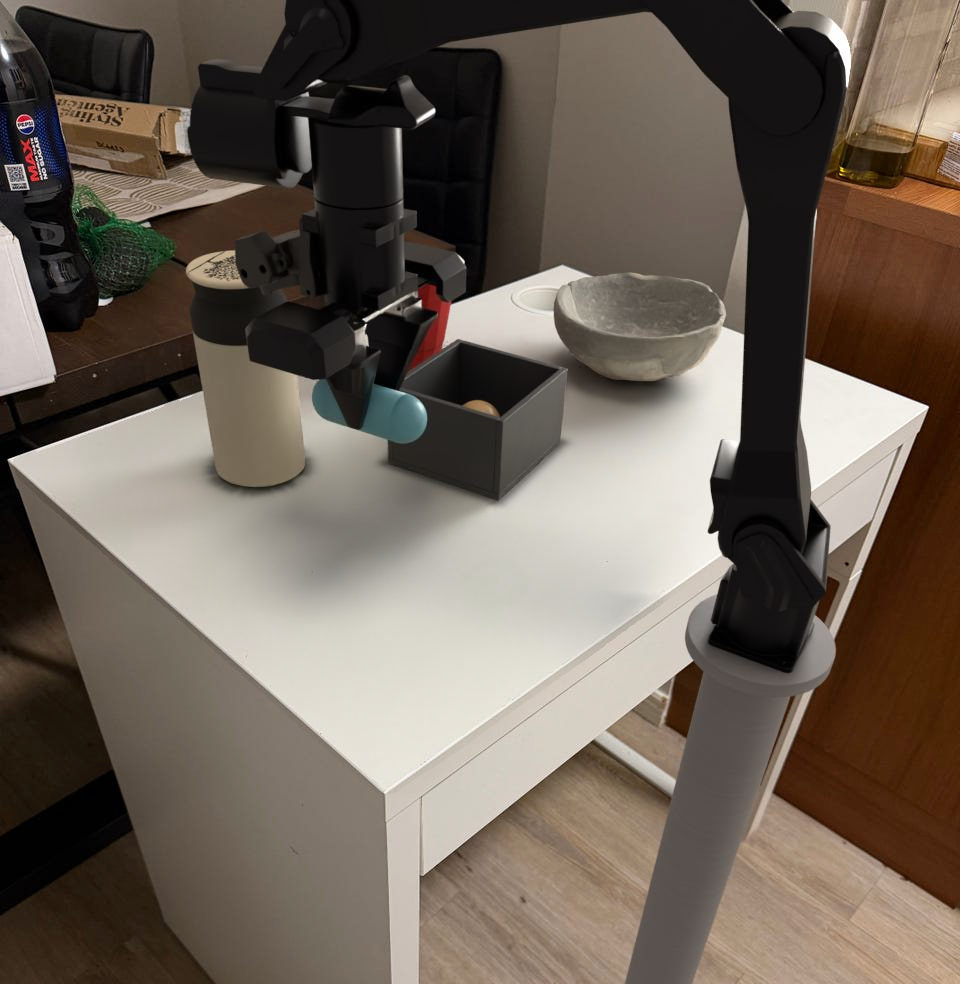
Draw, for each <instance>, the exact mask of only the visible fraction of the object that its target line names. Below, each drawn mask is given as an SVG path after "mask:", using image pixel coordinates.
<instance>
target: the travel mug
mask: <svg viewBox="0 0 960 984" xmlns="http://www.w3.org/2000/svg"><path fill="white" fill-rule="evenodd" d="M185 274H186V276H187V277H188V279H189V280H190V281H191V284H192V286H193V289H194V294H193V297H192V301H191V303H190V305H189V308H188V309H189V310H188V311H189V312H188V313H189V317H190V323H191V330H192V335H193V341H194V347H195V352H196V353H195V355H196V358H197V364H198V372H199V376H200V382H201V383H200V384H201V388H202V389H201V390H202V395H203V401H204V407H205V412H206V420H207V425H208V431H209V437H210V442H211V443H210V444H211V448H212V453H213V454H212V455H213V460H214V466H215V467H214V468H215V471H216V473H217V475H218V476H219V477H220V478H221V479H222V480H224V481H226V482H228V483H231V484H233V485H237V486H241V487H249V488H250V487H252V488H262V487H263V488H264V487H271V486H275V485H279V484H282V483H285V482H288V481H290V480H292V479H293V478H295V477H297V476H299V474H300V473H301V472H302V471H303V470H304V469H305V466H306V452H305V442H304V432H303V431H304V430H303V421H302V412H301V410H302V409H301V401H300V400H301V399H300V391H299V380H298V379H299V378H298V375H295V374H291V373H288V372H285V371H281V370H278V369H274V368H271V367H268V366H264V365H261V364H258V363H254V362H251V361H250V359H249V354H248V347H247V340H246V332H245V328H246V327H247V326H248V325H249V324H250V323H251V321H252V320H253V319H254V318H255V317H257V316H259V315H261V314H263V313H265V312H267V311H269V310H271V309H273V308H275V307H277V306H279V305H281V304H283V303H285V302H287V301H289V300H288V297H286V295H285V293H284V292H283V289H278V290H274V292H273V293H272V294H269V295H263V294H262V292H261V289H260V287H255V288H248V287H247V286H246V285H244V284H243V282H242V280H241V278H240V275H239V273H238V270H237V267H236V262H235V249H234V250H223V251H218V252H217V251H216V252H210V253H206V254H204V255H200V256H199V257H196V258H195V259H193V260H192V261H190V262H189V263H188V264H187V266H186V268H185Z"/></svg>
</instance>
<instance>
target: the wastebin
mask: <svg viewBox="0 0 960 984" xmlns="http://www.w3.org/2000/svg"><path fill="white" fill-rule="evenodd" d="M568 370H569V369H568V368H567V367H563V366H559V365H555V364H552V363H548V362H545V361H540V360H537V359H533V358H529V357H526V356H523V355H519V354H515V353H511V352H508V351H505V350H501V349H497V348H493V347H489V346H486V345H482V344H479V343H476V342H475V343H474V342H471V341H468V340H463V339H461V338H457V339H455V340H454V341H452V342H451V343H449V344H448V345H447V346H445V347H442V350H440V351H439V352H437V353H436V354H434V355H433V356H431V357H430V358H428V359H427V360H425V361H424V362H422V363H420V364H419V365H417V366H416V367H414V368H413V369H411V370H410V371H408V372H407V375H406V377H405V379H404V381H403V383H402V385H401V388H400V390H399V391H400V392H403V393H407V394H410V395H412V396H414V397H416V398H417V399H418V400H420V402H421V403H422V404H423V406H424V407H425V410H426V413H427V424H426V428H425V430H424V432H423V434H422V435H421V436H420V437H419V438H418V439H416V440H414V441H413V442H409V443H396V442H393V441H390V440H387V463H388V464H391V465H393V466H397V467H398V468H399V467H400V468H401V469H404V470H405V469H406V470H408V471H411V472H414V473H417V474H419V475H423V476H426V477H429V478H432V479H435V480H438V481H441V482H444V483H446V484H450V485H452V486H456V487H458V488H460V489H465V490H467V491H470V492H472V493H476V494H479V495H482V496H485V497H488V498H490V499H494V500H496V501H499V500H501V499H502V498H503V497H504V496H505V495H506V494H508V493H509V491H511V490H512V489H513V488H514V487H515V486H516V485H517V484H518V483H519V482H520V481H522V480H523V478H524V477H526V476H527V475H528V474H529V473H530V472H531V471H532V470H533V469H534V468H535V467H537V465H539V464H540V463H541V462H542V461H543V460H544V459H545V458H546V457H547V456H548V455H549V454H550V453H551V452H552V451H554V449H556V448H557V447H558V446H559V445H560V444H561V441H562V431H563V419H564V409H565V401H566V400H565V398H566V389H567V380H568V379H567V378H568ZM474 400H481V401H485V402H488V403H489V404H491V405H492V406H493V407H495V409H496V410H497V411H498V413H499V415H500V417H497V416H494V415H491V414H487V413H484V412H481V411H477V410H474V409H471V408H467V407H464V406H463V405H464V404H466V403H467V402H470V401H474Z"/></svg>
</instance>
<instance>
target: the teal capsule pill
mask: <svg viewBox="0 0 960 984" xmlns="http://www.w3.org/2000/svg"><path fill="white" fill-rule="evenodd" d="M311 403H312V406H313V409H314V411H315V412H316V414H317V415H319V416H320V418H322V419H323V420H325V421H326V422H327V421H328V422H329V423H330V422H331V423H333V424H337V425H340V426H343V427H346V428H348V429H351V428H350V427H348V426H347V424H346V422H345V420H344V417H343V415H342V413H341V411H340V409H339V407H338V404H337V402H336V400H335V398H334V396H333V394H332V392H331V389H330V387H329V385H328V383H327V381H326V379H319V380H317V381H316V382H315V384H314V386H313V387H312V391H311ZM426 424H427V413H426V410H425V407H424V406H423V404H422V403H421V402H420V400H418V399H417V398H416V397H414V396H412V395H410V394H407V393H403V392H400V391H397V390H393V389H390V388H386V387H383V386H379V385H376V384H373V388H372V393H371V397H370V401H369V406H368V410H367V414H366V417H365V420H364V424H363V427H362V428H361V429H360V430H356V429H354V430H356V431H358V432H362V433H365V434H368V435H371V436H374V437H378V438H380V439H383V440H387V441H388V440H390V441H393V442H396V443H409V442H413V441H414V440H416V439H418V438H419V437H420V436H421V435H422V434H423V432H424V430H425V428H426Z"/></svg>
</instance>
